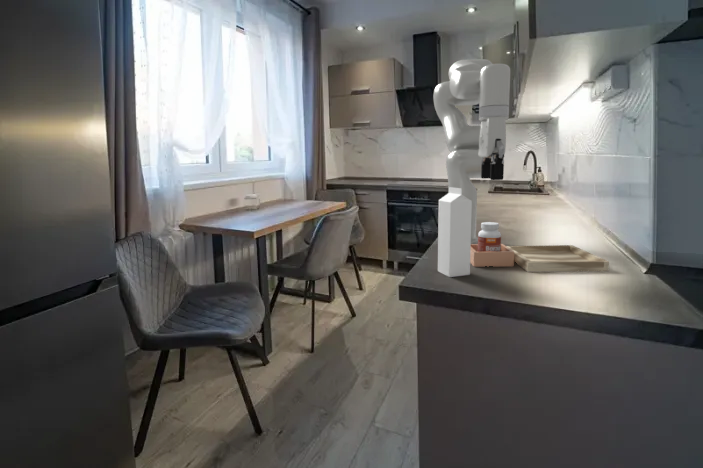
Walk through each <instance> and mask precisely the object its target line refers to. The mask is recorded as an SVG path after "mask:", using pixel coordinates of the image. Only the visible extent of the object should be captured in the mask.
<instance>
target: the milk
mask: <svg viewBox="0 0 703 468" xmlns="http://www.w3.org/2000/svg"><path fill="white" fill-rule="evenodd" d="M437 212H438V216H437V218H438V219H437V220H438V221H437V224H438V227H437V231H438V232H437V233H438V235H437V272H439V273H440V274H442V275H444V276H446V277H448V278H452V277H453V278H454V277H462V276H470V275H471V263H470V250H471V212H472V201H471V200H469V199H468V198H466V197H465V196H463V195H462V189H461V188H453V187H449V193H446V194H445V195H444V196H442V197H441V198H439V199H438V211H437Z"/></svg>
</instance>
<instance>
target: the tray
mask: <svg viewBox="0 0 703 468" xmlns="http://www.w3.org/2000/svg"><path fill="white" fill-rule="evenodd" d="M506 246H507V247H508V248H509V249H511V250H512V251H514V263H515V262H516V263H517V264H516V263H515V264H516V265H518V266H519V265H520V266H521V267H520V266H519V267H520V268H522V269H523V268H524V269H525V271H526V272H527V273H545V272H546V273H548V272H549V273H554V272H555V273H556V272H557V273H561V272H563V273H564V272H566V273H567V272H569V273H570V272H572V273H573V272H577V273H578V272H582V273H583V272H609V270H610V269H609V267H610V261H609V260H606V259H604V258H602V257H599V256H597V255H595V254H593V253H591V252H590V251H589V252H588V251H586V250H584V249H583V248H579V247H578V246H576V245H573V244H572V245H571V244H569V245H567V244H564V245H559V244H557V245H554V244H553V245H550V244H549V245H506ZM524 269H523V270H524Z"/></svg>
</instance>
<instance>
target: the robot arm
mask: <svg viewBox="0 0 703 468" xmlns="http://www.w3.org/2000/svg"><path fill="white" fill-rule="evenodd" d="M448 78H449V80H448V81H443V82H440V83H439V84H437V85H436V86H435V88H434V90H433V97H432V98H433V105H434V106H433V107H434V109H435V111H436V112H435V113H436V115H437V117H438V119H439V120H440V122H441V124H442V128H443V133H444V139H445V143H446V147H447V149H448V151H449V152H450V153H449V154H448V155H447V156H446V159H445V165H446V175H447V183H448V187H447V188H448V189H447V190H448V191H447V192H448V193H449V187H453V188H461V189H462V195H463V196H465V197H466V198H468V199H469V200H471V201H472V212H471V244H478V236H477V213H478V212H477V211H478V209H477V208H478V206H477V205H478V192H477V188H476V186H475V185H474V184H473V182H472V181H471V180H470V179H478V178H479V179H490V180H491V181H502V180H504V168H505V159H504V158H505V154H506V147H507V145H506V144H507V132H506V131H507V129H506V128H507V127H506V126H507V125H506V124H507V123H506V120H509V119H510V117H509V115H510V91H511V90H510V89H511V88H510V87H511V67H510V66H509V65H508V64H505V63H493V62H492V61H491V60H489V59H486V58H485V59H484V58H482V59H478V58H477V59H460V60H457V61H456V62H454V63H453V64H452V65H451V66H450V67H449V69H448ZM477 105H479V107H478V121H480V125H470V124H468V120H467V117H466V115H465V114H464V113H463V111H461V110H460V109H459V108H457V106H477ZM448 193H447V194H448Z"/></svg>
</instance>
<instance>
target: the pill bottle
mask: <svg viewBox="0 0 703 468" xmlns="http://www.w3.org/2000/svg"><path fill="white" fill-rule="evenodd" d="M499 226H500V224H499V223H498V222H493V221H492V222H491V221H485V222H481V224H480V228H481V230H480V231H479V232H477V233H478V235H477V237H478V251H477V252H489V251H500V249H501V244H502V234H501V232H500V231H499V228H500V227H499Z"/></svg>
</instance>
